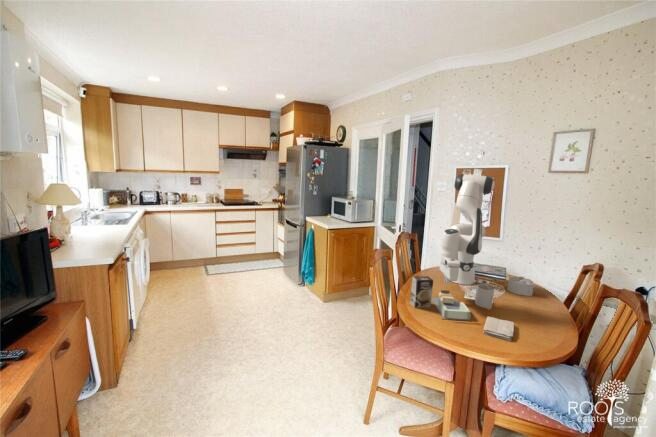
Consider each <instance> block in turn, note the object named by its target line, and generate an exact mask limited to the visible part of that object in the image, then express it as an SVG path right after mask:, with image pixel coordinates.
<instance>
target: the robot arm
mask: <svg viewBox="0 0 656 437" xmlns="http://www.w3.org/2000/svg"><path fill="white" fill-rule="evenodd" d="M453 186H454V189H455V190H456V191H458V194H457V196H456V197H457V198H456V203H455V206H456V208H457V210H458V212H460V213H461V214H462V216H463V217H464V219H465V221H464V223H457V224H454V225H452V226H450V227H449V229H445V230H444V231H443V233H442V234H443V235H442V239H441V252H440V259H439V260H440V261H439V271H441V273H442V274H443V275H444V283H445V285H450V282H453V283H456V284H460V285H465V286H467V285H469V286H470V285H473V284H474V283H477V279H475V278H476V277H475V275H476V270H475V268H474V264H475V262H474V257H475V255H478V254H479V253H481V252H482V248H483V240H482V238H483V237H485V235H486V233H487V232H486V230H487V229H486V228H485V226H484V225H483V213H482V206H483V199H484V196H486V195H489V194H490V193H492V192H493V191H494V188H495V179H494V178H493V177H491V176H489V175H487V176H485V175H483V174H482V175H480V174H464V173H461V174H457V176H455V179H454V181H453Z"/></svg>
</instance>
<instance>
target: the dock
mask: <svg viewBox="0 0 656 437" xmlns="http://www.w3.org/2000/svg"><path fill="white" fill-rule="evenodd" d="M431 302H433V304H434V306H435V307H436V309H437V312H438V313H439V314H440V316H441V317H442V318H441V320H444V321H455V322H458V321H459V322H468V323H470V322H471V323H472V318H471V315H472V314H471V313H472V311H471V310H470V309H469V308H468V307H467V305H466V304H465V302H462V301H460V302H459V301H458V299H456V298H454V304H452V305H450V303H445V304H444V303H443V302H442V301H441V300H440V299H439V297H434V296H432V298H431Z"/></svg>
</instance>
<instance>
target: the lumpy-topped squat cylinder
mask: <svg viewBox="0 0 656 437" xmlns="http://www.w3.org/2000/svg"><path fill="white" fill-rule="evenodd" d="M508 278H509V279H508V283H507V290H508V291H509V292H511V293H512V294H513V293H514V294H516V295H520V296H521V295H522V296H525V297H527V296H528V297H532V296H533V293H534V287H535V284H534V281H533V280H532V279H530V278H525V277H524V276H512V277H508Z"/></svg>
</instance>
